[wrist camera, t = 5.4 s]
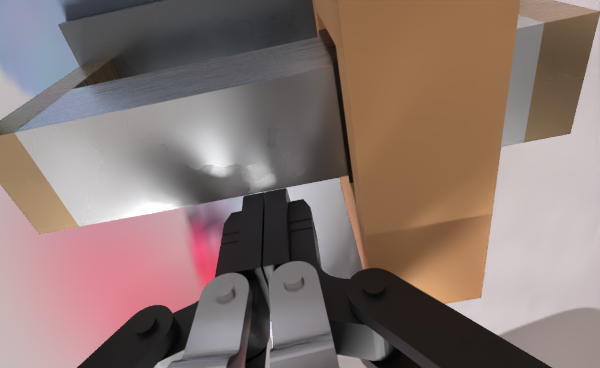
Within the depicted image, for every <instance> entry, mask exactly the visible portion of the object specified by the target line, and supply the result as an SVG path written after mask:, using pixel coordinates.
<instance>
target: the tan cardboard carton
mask: <svg viewBox="0 0 600 368" xmlns="http://www.w3.org/2000/svg"><path fill="white" fill-rule="evenodd" d="M312 1H313V8H314V14H315V21H316V27H317V34H318V37H319V32H318V30H322V29H327V31H328V32H329V34H330V36H331V38H332V40H333V41H334V43H335V45H336V50H337V58H338V66H339V73H340V81H341V89H342V97H343V104H344V112H345V120H346V127H347V135H348V143H349V150H350V158H351V166H352V173H353V181H354V183H349V180H348V177H347V176H344V177H340V183H341V188H342V192H343V195H344V199H345V203H346V207H347V210H348V214H349V218H350V222H351V226H352V229H353V233H354V237H355V241H356V244H357V248H358V252H359V256H360V259H361V263H362V267H363V270H364V269H368V268H380V269H384V270H387V271H389V272H391V273H393V274H395V275H396V276H398V277H400V278H401V279H403V280H405V281H406V282H408V283H410V284H411V285H413V286H415V287H417V288H418V289H420V290H422V291H423V292H425V293H427V294H428V295H430V296H432V297H433V298H435V299H437V300H439V301H440V302H442V303H444V304H446V303H452V302H458V301H464V300H470V299H476V298H481V294H482V286H483V279H484V271H485V264H486V256H487V249H488V241H489V234H490V226H491V219H492V211H493V203H494V196H495V188H496V181H497V173H498V166H499V158H500V151H501V143H502V136H503V128H504V120H505V113H506V105H507V98H508V90H509V83H510V75H511V68H512V60H513V53H514V45H515V38H516V30H517V22H518V15H519V7H520V0H312Z"/></svg>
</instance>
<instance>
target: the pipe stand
mask: <svg viewBox="0 0 600 368" xmlns="http://www.w3.org/2000/svg"><path fill="white" fill-rule="evenodd" d="M599 15H600V11H596V10H592V9H588V8H584V7H579V6H575V5H571V4H567V3H562V2H558V1H554V0H520V7H519V15H518V22H517V30H516V38H515V45H514V53H513V60H512V68H511V75H510V83H509V90H508V98H507V105H506V113H505V120H504V128H503V136H502V143H501V147H502V146H508V145H513V144H518V143H523V142H529V141H534V140H539V139H545V138H550V137H555V136H560V135H566V134H570V133H571V129H572V125H573V121H574V116H575V112H576V108H577V104H578V100H579V96H580V92H581V88H582V84H583V80H584V76H585V72H586V68H587V64H588V60H589V56H590V52H591V48H592V44H593V39H594V35H595V31H596V27H597V23H598V19H599ZM58 25H59V27H60V29H61V31H62V33H63V35H64V37H65V39H66V41H67V43H68V45H69V46H70V48H71V50H72V52H73V54H74V56H75V58H76V60H77V62H78V64H79V66H80V67H78V68H77V69H75V70H74V71H72V72H71V73H70V74H68V75H67V76H65V77H64V78H62V79H61V80H59V81H58V82H56V83H55V84H53V85H52V86H50V87H49V88H47V89H46V90H44V91H43V92H41V93H40V94H38V95H37V96H35V97H34V98H32V99H31V100H30V101H28V102H27V103H25V104H24V105H22V106H21V107H19V108H18V109H16V110H15V111H13V112H12V113H10V114H9V115H7V116H6V117H4V118H3V119H2V120H0V184H1V186H2V187H3V188H4V190H5V191H6V192H7V193H8V195H9V196H10V197H11V199H12V200H13V201H14V202H15V204H16V205H17V206H18V207H19V209H20V210H21V211H22V212H23V214H24V215H25V216H26V218H27V219H28V220H29V222H30V223H31V224H32V225H33V227H34V228H35V229H36V231H37V232H38V233H39V234H43V233H48V232H54V231H59V230H64V229H70V228H74V227H80V226H85V225H91V224H95V223H101V222H106V221H112V220H117V219H122V218H127V217H133V216H138V215H144V214H149V213H154V212H159V211H165V210H170V209H175V208H180V207H186V206H191V205H196V204H202V203H207V202H212V201H217V200H223V199H228V198H233V197H238V196H244V195H249V194H254V193H260V192H265V191H270V190H275V189H281V188H286V187H291V186H297V185H302V184H307V183H312V182H318V181H323V180H328V179H333V178H339V177H344V176H347V177H348V180H349V183H354V181H353V173H352V166H351V158H350V150H349V143H348V135H347V127H346V120H345V112H344V104H343V97H342V89H341V81H340V73H339V66H338V58H337V50H336V45H335V43H334V41H333V40H332V38H331V36H330V34H329V32H328V31H327V29H322V30H318V32H319V37H318V34H317V27H316V21H315V14H314V8H313V1H312V0H159V1H155V2H150V3H146V4H141V5H137V6H132V7H128V8H123V9H119V10H114V11H110V12H106V13H101V14H97V15H92V16H88V17H83V18H79V19H74V20H70V21H65V22H63V23H61V24H58Z"/></svg>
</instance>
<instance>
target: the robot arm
mask: <svg viewBox="0 0 600 368" xmlns="http://www.w3.org/2000/svg"><path fill="white" fill-rule="evenodd" d="M222 235H223V237H222V240H221V246H220V251H219V257H218V263H217V269H216V275H215V278H214V279H213V280H211V281H210V282H209V283H208V284H207V285H206V286H205V288H204V289H203V291H202V293H201V296H200V300H199V301H197V302H196V303H194V304H192V305H190V306H188V307H186V308H183V309H181V310H179V311H177V312H175V313H172V312H171V311H170V309H168V308H167V307H166V306H162V305H154V306H150V307H147V308H145V309H143V310H141V311H139V312H138V313H136V314H135V315H134V316H133V317H131V319H129V320H128V321H127V322H126V323H125V324H124V325H123V326H122V327H121V328H120V329H118V331H116V332H115V333H114V334H113V335H112V336H111V337H110V338H109V339H108V340H107V341H105V342H104V343H103V344H102V345H101V346H100V347H99V348H98V349H97V350H96V351H95V352H94V353H92V354H91V355H90V356H89V357H88V358H87V359H86V360H85V361H84V362H83V363H82V364H81V365H79V366H78V367H77V368H340V366H339V362H338V358H337V355H342V356H348V357H354V358H360V360H361V362H362V363H363V364H364V365H365V366H366V367H367V368H552V367H550V366H548V365H546V364H545V363H543V362H542V361H540V360H538V359H536V358H535V357H533V356H531V355H530V354H528V353H526V352H525V351H523V350H521V349H519V348H518V347H516V346H514V345H513V344H511V343H509V342H508V341H506V340H504V339H503V338H501V337H499V336H498V335H496V334H494V333H493V332H491V331H489V330H487V329H486V328H484V327H482V326H481V325H479V324H477V323H476V322H474V321H472V320H471V319H469V318H467V317H466V316H464V315H462V314H460V313H459V312H457V311H455V310H454V309H452V308H450V307H449V306H447V305H445V304H444V303H442V302H440V301H439V300H437V299H435V298H433V297H432V296H430V295H428V294H427V293H425V292H423V291H422V290H420V289H418V288H417V287H415V286H413V285H411V284H410V283H408V282H406V281H405V280H403V279H401V278H400V277H398V276H396V275H395V274H393V273H391V272H389V271H387V270H384V269H380V268H368V269H364V270H361V271H359V272H357V273H356V274H355V275H353V276H352V278H351V279H341V278H336V277H332V276H330V275H328V274H326V273H325V272H324V271H323V270H322V268H321V261H320V254H319V247H318V240H317V235H316V231H315V226H314V222H313V217H312V213H311V208H310V206H309V205H308V204H307V203H306V202H305V201H304V200H303V199H302V200H297V201H291V202H290V199H289V195H288V191H287V189H286V188H283V189H278V190H273V191H268V192H266V193H265V192H263V193H258V194H252V195H247V196H244V198H243V206H242V211H239V212H234V213H231V215H230V216H229V218H228V219H227V220H226V222H225V223H224V228H223V234H222ZM270 321H271V322H272V335H273V348H272V341H271V338H270Z"/></svg>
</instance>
